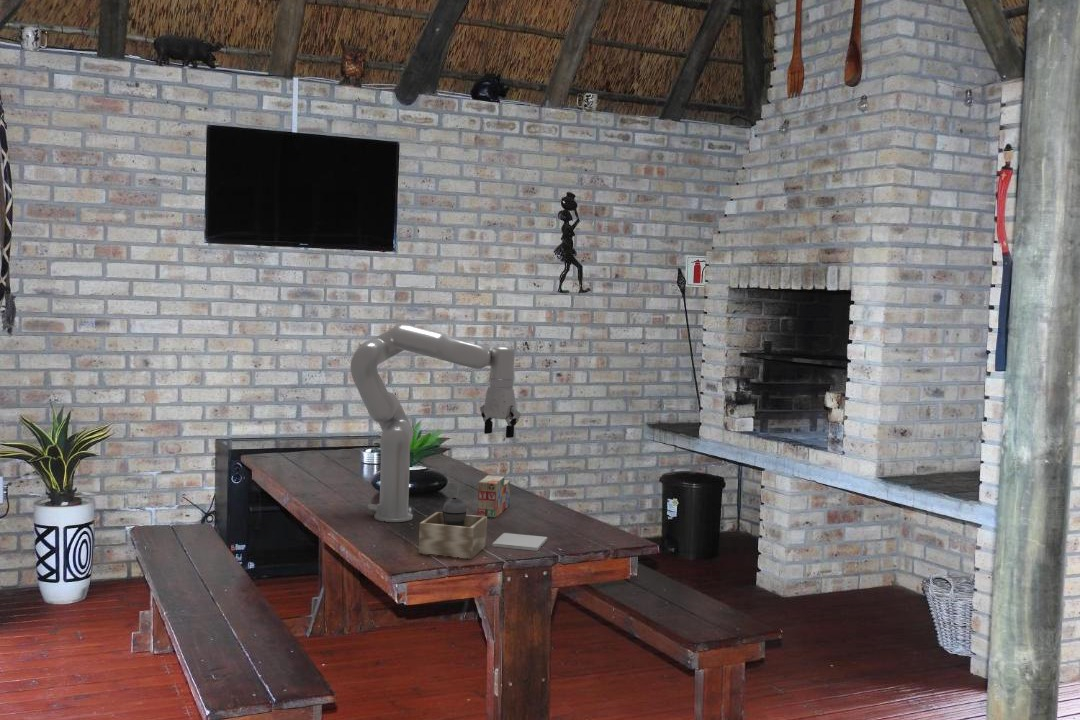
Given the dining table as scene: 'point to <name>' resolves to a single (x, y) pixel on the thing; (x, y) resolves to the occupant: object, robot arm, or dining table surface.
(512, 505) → the dining table surface
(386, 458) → the robot arm
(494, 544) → the tile
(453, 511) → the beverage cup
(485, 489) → the stack of blocks
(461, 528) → the crate
